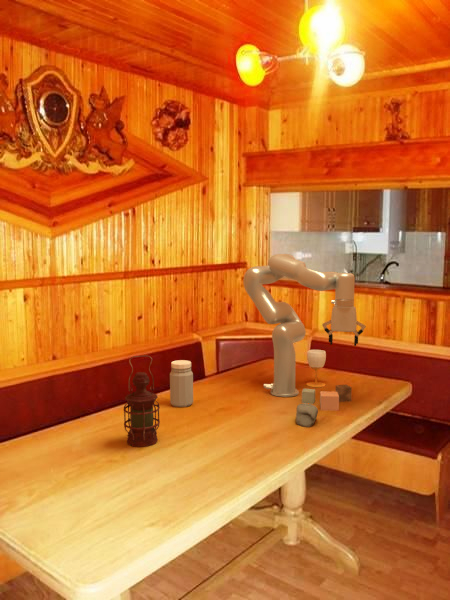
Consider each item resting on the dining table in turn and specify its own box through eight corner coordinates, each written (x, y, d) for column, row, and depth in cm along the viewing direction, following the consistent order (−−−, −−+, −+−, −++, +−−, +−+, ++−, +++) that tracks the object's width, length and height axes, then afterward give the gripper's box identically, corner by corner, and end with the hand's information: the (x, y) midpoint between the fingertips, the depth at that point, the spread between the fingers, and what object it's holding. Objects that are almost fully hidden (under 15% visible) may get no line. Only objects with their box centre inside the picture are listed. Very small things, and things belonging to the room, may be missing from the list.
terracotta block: (321, 410, 227) (321, 396, 226) (319, 405, 234) (320, 391, 233) (338, 411, 226) (339, 396, 225) (337, 405, 233) (337, 391, 232)
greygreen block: (301, 403, 237) (301, 391, 236) (303, 399, 242) (303, 388, 241) (313, 404, 236) (313, 392, 235) (315, 400, 240) (315, 389, 240)
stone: (289, 424, 209) (294, 398, 212) (296, 429, 217) (301, 403, 220) (312, 428, 205) (316, 401, 208) (319, 433, 213) (323, 406, 216)
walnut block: (340, 402, 238) (340, 388, 237) (335, 398, 243) (335, 385, 242) (351, 401, 239) (351, 387, 239) (345, 397, 244) (346, 384, 243)
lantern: (126, 449, 185) (123, 360, 182) (122, 437, 197) (120, 353, 194) (162, 446, 189) (161, 358, 185) (157, 433, 200) (155, 350, 197)
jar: (182, 409, 229) (182, 365, 227) (165, 405, 235) (164, 362, 233) (198, 403, 237) (197, 361, 235) (180, 399, 242) (180, 358, 241)
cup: (302, 383, 268) (303, 350, 266) (318, 381, 272) (319, 348, 270) (313, 388, 260) (313, 354, 258) (329, 386, 264) (330, 352, 262)
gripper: (322, 303, 227) (321, 345, 229) (366, 305, 223) (364, 347, 225) (323, 301, 234) (322, 342, 236) (366, 303, 230) (365, 344, 232)
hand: (343, 344), depth 231 cm, fingers open, 9 cm apart
